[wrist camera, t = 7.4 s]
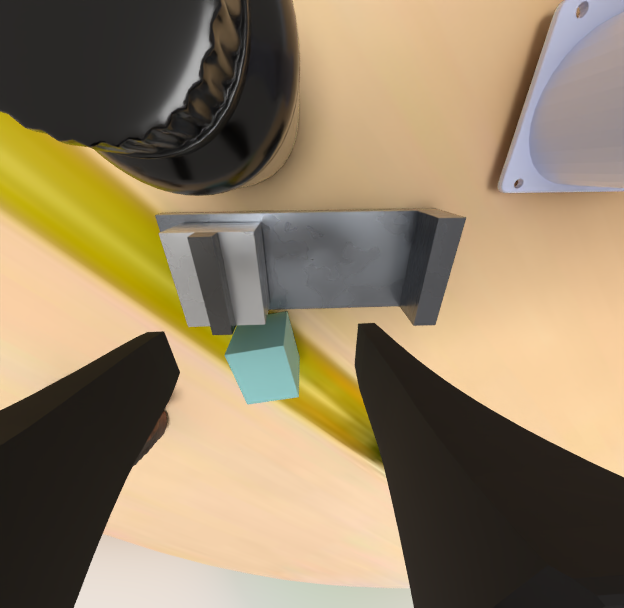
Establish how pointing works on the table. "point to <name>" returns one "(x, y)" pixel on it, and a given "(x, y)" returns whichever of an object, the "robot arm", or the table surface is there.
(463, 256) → the table surface
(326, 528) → the table surface
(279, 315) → the teal block
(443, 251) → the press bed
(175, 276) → the grey stepped block
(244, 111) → the supplement bottle
